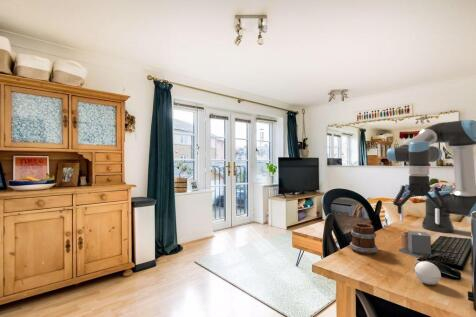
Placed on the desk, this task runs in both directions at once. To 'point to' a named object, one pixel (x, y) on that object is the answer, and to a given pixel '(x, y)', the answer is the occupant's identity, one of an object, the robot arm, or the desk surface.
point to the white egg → (427, 273)
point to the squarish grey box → (419, 242)
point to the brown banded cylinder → (363, 238)
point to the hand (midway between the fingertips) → (419, 222)
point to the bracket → (404, 239)
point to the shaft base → (407, 251)
